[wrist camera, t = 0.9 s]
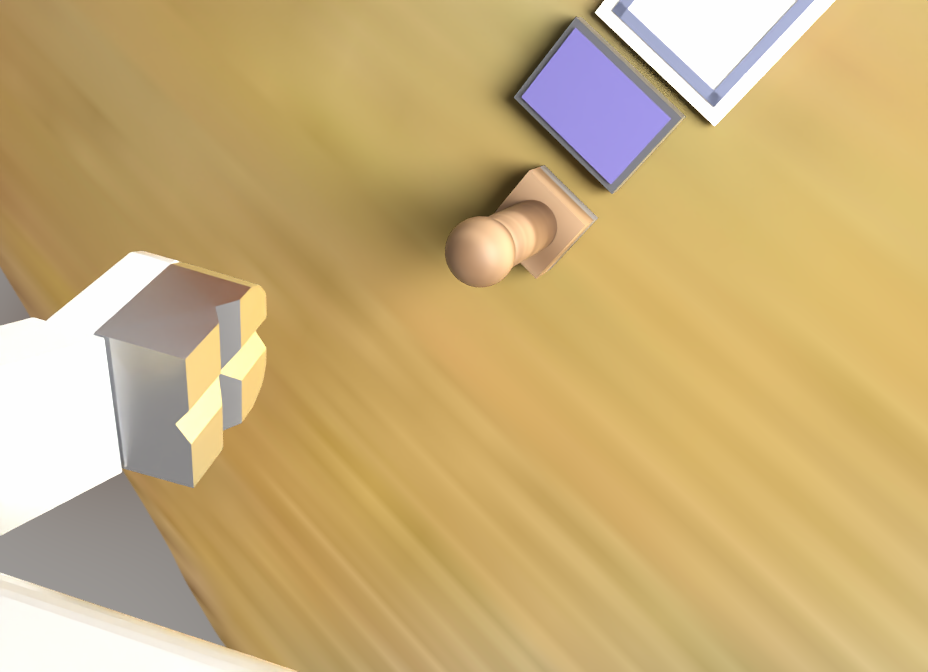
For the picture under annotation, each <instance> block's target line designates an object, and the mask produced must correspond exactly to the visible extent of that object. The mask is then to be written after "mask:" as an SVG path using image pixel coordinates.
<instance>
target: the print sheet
mask: <svg viewBox="0 0 928 672" xmlns="http://www.w3.org/2000/svg"><path fill="white" fill-rule="evenodd" d="M834 1H835V0H604V2H603V3H602V4H601V5H600V7H599V8H598V9H597V11H596V12H595V13H596V14H597V15H598V16H599V17H600V18H601V19H602V20H603V21H604V22H605V23H606V24H607V25H608V26H609V27H610V28H611V29H613V30H614V31H615V32H616V33H617V34H618V35H619V36H620V37H621V38H622V39H623V40H624V41H625V42H626V43H627V44H628V45H629V46H630V47H631V48H632V49H634V50H635V51H636V52H637V53H638V54H639V55H640V56H641V57H642V58H643V59H644V60H645V61H646V62H647V63H648V64H649V65H650V66H651V67H652V68H654V69H655V70H656V71H657V72H658V73H659V74H660V75H661V76H662V77H663V78H664V79H665V80H666V81H667V82H668V83H669V84H670V85H671V86H672V87H674V88H675V89H676V90H677V91H678V92H679V93H680V94H681V95H682V96H683V97H684V98H685V99H686V100H687V101H688V102H689V103H690V104H691V105H692V106H694V107H695V108H696V109H697V110H698V111H699V112H700V113H701V114H702V115H703V116H704V117H705V118H706V119H707V120H708V121H709V122H710V123H711V124H712V125H714V126H716V125H717V124H718V123H719V121H720V120H721V119H722V118H723V117H724V116H725V115H726V114H727V113H728V112H729V111H730V110H731V109H732V108H733V107H734V106H735V105H736V104H737V103H738V102H739V101H740V100H741V98H742V97H743V96H744V95H745V94H746V93H747V92H748V91H749V90H750V89H751V88H752V87H753V86H754V85H755V84H756V83H757V82H758V81H759V80H760V79H761V78H762V76H763V75H764V74H765V73H766V72H767V71H768V70H769V69H770V68H771V67H772V66H773V65H774V64H775V63H776V62H777V61H778V60H779V59H780V58H781V57H782V56H783V55H784V53H785V52H786V51H787V50H788V49H789V48H790V47H791V46H792V45H793V44H794V43H795V42H796V41H797V40H798V39H799V38H800V37H801V36H802V35H803V34H804V33H805V31H806V30H807V29H808V28H809V27H810V26H811V25H812V24H813V23H814V22H815V21H816V20H817V19H818V18H819V17H820V16H821V15H822V14H823V13H824V12H825V11H826V10H827V8H828V7H829V6H830V5H831V4H832V3H833V2H834Z"/></svg>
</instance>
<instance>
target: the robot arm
mask: <svg viewBox="0 0 928 672" xmlns="http://www.w3.org/2000/svg"><path fill="white" fill-rule="evenodd" d="M266 317H267V308H266V292H265V291H264V290H263V288H262V287H261V286H260V285H258V284H255V283H252V282H248V281H245V280H242V279H238V278H235V277H232V276H228V275H225V274H222V273H218V272H215V271H212V270H208V269H205V268H201V267H198V266H195V265H191V264H188V263H185V262H178V261H177V260H174V259H170V258H167V257H163V256H160V255H156V254H152V253H149V252H145V251H136V252H130V253H129V254H128V255H126V256H125V257H124V258H123V259H121V260H120V261H119V262H118V263H116V264H115V265H114V266H113V267H112V268H110V269H109V270H108V271H107V272H105V273H104V274H103V275H102V276H100V277H99V278H98V279H97V280H96V281H94V282H93V283H92V284H91V285H89V286H88V287H87V288H86V289H84V290H83V291H82V292H81V293H80V294H78V295H77V296H76V297H75V298H73V299H72V300H71V301H70V302H68V303H67V304H66V305H65V306H64V307H62V308H61V309H60V310H59V311H57V312H56V313H55V314H54V315H52V316H51V317H50V318H49V319H47V320H46V321H44V320H41V319H37V318H34V317H32V318H29V319H25V320H21V321H17V322H13V323H9V324H5V325H1V326H0V535H3V534H5V533H7V532H8V531H10V530H12V529H14V528H16V527H18V526H20V525H22V524H24V523H25V522H27V521H30V520H31V519H33V518H35V517H37V516H39V515H41V514H43V513H45V512H47V511H49V510H50V509H52V508H54V507H56V506H58V505H60V504H62V503H64V502H66V501H68V500H70V499H72V498H74V497H76V496H77V495H79V494H81V493H83V492H85V491H87V490H89V489H91V488H93V487H95V486H96V485H99V484H100V483H102V482H104V481H106V480H108V479H110V478H112V477H113V476H116V475H118V474H120V473H121V472H122V468H123V469H127V470H131V471H134V472H138V473H141V474H145V475H149V476H152V477H156V478H159V479H163V480H167V481H170V482H174V483H177V484H181V485H185V486H188V487H192V488H194V487H195V486H196V484H197V483H198V482H199V480H200V479H201V478H202V476H203V475H204V474H205V472H206V471H207V469H208V468H209V467H210V465H211V464H212V463H213V461H214V460H215V459H216V457H217V456H218V455H219V453H220V452H221V451H222V449H223V430H225V429H228V428H230V427H233V426H235V425H238V424H240V423H242V422H243V420H244V419H245V417H246V416H247V415H248V413H249V412H250V410H251V409H252V407H253V406H254V403H255V401H256V399H257V396H258V394H259V391H260V389H261V386H262V384H263V379H264V374H265V368H266V346H265V345H264V343H263V342H262V340H261V339H260V337H259V336H258V334H257V333H256V330H257V329H258V327H259V326H260V325H261V324H262V322H263V321H264V320H265V319H266ZM0 672H299V671H296V670H293V669H290V668H287V667H284V666H281V665H278V664H275V663H272V662H268V661H265V660H262V659H259V658H256V657H253V656H250V655H247V654H244V653H241V652H238V651H235V650H232V649H229V648H226V647H223V646H220V645H217V644H214V643H211V642H208V641H205V640H202V639H199V638H196V637H193V636H190V635H187V634H184V633H181V632H178V631H175V630H172V629H169V628H165V627H163V626H160V625H157V624H153V623H150V622H147V621H145V620H141V619H139V618H136V617H132V616H129V615H126V614H123V613H120V612H117V611H114V610H111V609H108V608H105V607H102V606H99V605H96V604H93V603H90V602H87V601H84V600H81V599H78V598H75V597H72V596H69V595H66V594H63V593H60V592H57V591H54V590H51V589H48V588H45V587H42V586H39V585H36V584H32V583H30V582H27V581H23V580H21V579H18V578H15V577H12V576H9V575H6V574H3V573H0Z"/></svg>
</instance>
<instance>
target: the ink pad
mask: <svg viewBox="0 0 928 672" xmlns="http://www.w3.org/2000/svg"><path fill="white" fill-rule="evenodd" d="M514 98H515V99H516V100H517V101H518V102H519V103H520V104H521V105H522V106H523V107H524V108H525V109H526V110H527V111H528V112H529V113H530V114H531V115H532V116H533V117H534V118H535V119H536V120H537V121H538V122H539V123H540V124H541V125H542V126H543V127H544V128H545V129H546V130H547V131H548V132H549V133H550V134H551V135H552V136H553V137H554V138H555V139H556V140H557V141H558V142H559V143H560V144H561V145H563V146H564V147H565V148H566V149H567V150H568V151H569V152H570V153H571V154H572V155H573V156H574V157H575V158H576V159H577V160H578V161H579V162H580V163H581V164H582V165H583V166H584V167H585V168H586V169H587V170H588V171H589V172H590V173H591V174H592V175H593V176H594V177H595V178H596V179H597V180H598V181H599V182H600V183H601V184H602V185H603V186H604V187H605V188H606V189H607V190H608V191H609V192H610V193H611V194H613V193H615V192H617V191H618V190H619V189H620V187H621V186H622V185H623V184H624V183H625V182H626V181H627V180H628V179H629V178H630V177H631V176H632V174H633V173H634V172H635V171H636V170H637V169H638V168H639V167H640V166H641V165H642V164H643V163H644V161H645V160H646V159H647V158H648V157H649V156H650V155H651V154H652V153H653V152H654V151H655V150H656V148H657V147H658V146H659V145H660V144H661V143H662V142H663V141H664V140H665V139H666V138H667V137H668V136H669V134H670V133H671V132H672V131H673V130H674V129H675V128H676V127H677V126H678V125H679V124H680V123H681V121H682V120H683V119H684V118H685V117H686V116H685V115H684V114H683V113H682V112H681V111H680V110H678V109H677V108H676V107H675V106H674V105H673V104H672V103H671V102H670V101H669V100H668V99H667V98H666V97H665V96H664V95H663V94H662V93H661V92H660V91H659V90H657V89H656V88H655V87H654V86H653V85H652V84H651V83H650V82H649V81H648V80H647V79H646V78H645V77H644V76H643V75H642V74H641V73H640V72H639V71H638V70H637V69H635V68H634V67H633V66H632V65H631V64H630V63H629V62H628V61H627V60H626V59H625V58H624V57H623V56H622V55H621V54H620V53H619V52H618V51H617V50H616V49H614V48H613V47H612V46H611V45H610V44H609V43H608V42H607V41H606V40H605V39H604V38H603V37H602V36H601V35H600V34H599V33H598V32H597V31H596V30H595V29H594V28H592V27H591V26H590V25H589V24H588V23H587V22H586V21H585V20H584V19H583V18H582V17H575V19H574V20H573V21H572V23H571V24H570V25H569V26H568V28H567V29H566V30H565V32H564V33H563V34H562V35H561V37H560V38H559V39H558V41H557V42H556V43H555V45H554V46H553V47H552V48H551V50H550V51H549V52H548V54H547V55H546V56H545V57H544V59H543V60H542V61H541V63H540V64H539V65H538V67H537V68H536V69H535V70H534V72H533V73H532V74H531V76H530V77H529V78H528V80H527V81H526V82H525V83H524V85H523V86H522V87H521V89H520V90H519V91H518V92H517V94H516V95H515V96H514Z"/></svg>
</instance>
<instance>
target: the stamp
mask: <svg viewBox="0 0 928 672" xmlns="http://www.w3.org/2000/svg"><path fill="white" fill-rule="evenodd" d="M597 219H598V217H597V216H596V215H595V214H593V213H592V212H591V211H590V210H589V209H588V208H587V207H586V206H585V205H584V204H583V203H582V202H581V201H580V200H579V199H578V198H577V197H576V196H575V195H574V194H573V193H572V192H571V191H570V190H569V189H568V188H567V187H566V186H565V185H564V184H563V183H562V182H561V181H560V180H559V179H558V178H557V177H556V176H555V175H554V174H553V173H552V172H551V171H550V170H549V169H548V168H547V167H546V166H545V165H544V166H541V167H538V168H535V169H532V170H529V172H528V173H527V174H526V175H525V176H524V178H523V179H522V180H521V181H520V182H519V184H518V185H517V186H516V187H515V188H514V190H513V191H512V192H511V193H510V194H509V196H508V197H507V198H506V199H505V200H504V202H503V203H502V204H501V205H500V206H499V208H498V209H497V210H496V211H495V212H494V214H493V215H490V216H488V217H485V216H476V217H471V218H468V219H466V220H464V221H462V222H460V223H459V224H458V225H457V226H456V227H455V228H454V229H453V230H452V231H451V233H450V235H449V237H448V239H447V242H446V247H445V257H446V262H447V265H448V267H449V269H450V271H451V272H452V274H453V275H454V276H455V277H456V278H457V279H458V280H460V281H461V282H463V283H465V284H467V285H469V286H473V287H487V286H491V285H494V284H496V283H498V282H500V281H501V280H502V279H504V278H505V277H506V276H507V274H508V273H509V272H510V270H511V269H512V267H514V266H516V265H517V264H519V263H521V264H522V265H523V266H524V267H525V268H526V269H527V270H528V271H529V272H530V273H531V274H532V275H533V276H534V277H535V278H538V277H539V276H541V275H542V274H544V273H546V272H547V271H549V270H550V269H551V268H552V267H553V266H554V265H555V264H556V263H557V262H558V261H559V259H560V258H561V257H562V256H563V255H564V254H565V253H566V252H567V251H568V250H569V249H570V248H571V247H572V245H573V244H574V243H575V242H576V241H577V240H578V239H579V238H580V237H581V236H582V235H583V234H584V233H585V232H586V230H587V229H588V228H589V227H590V226H591V225H592V224H593V223H594V222H595V221H596V220H597Z"/></svg>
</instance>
